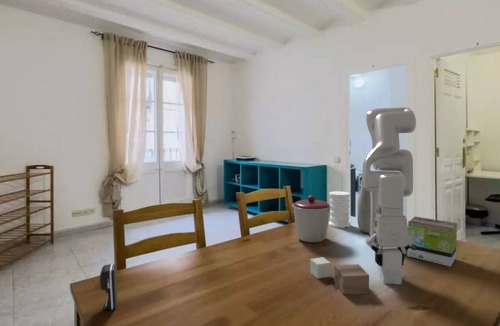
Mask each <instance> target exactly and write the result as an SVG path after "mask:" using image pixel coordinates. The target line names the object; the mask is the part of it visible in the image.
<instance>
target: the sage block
mask: <svg viewBox="0 0 500 326" xmlns="http://www.w3.org/2000/svg"><path fill="white" fill-rule="evenodd" d="M309 261H310V262H309V265H310V266H309V267H310V272H309V273H310V274H311V275H313V276H314V277H315V278H316V279H317V278H318V279H323V277H324V278H329V277H331V262H330V261H329V260H327V259H326V258H325V257H316V258H315V257H314V258H310V259H309Z"/></svg>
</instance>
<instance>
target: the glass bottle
mask: <svg viewBox="0 0 500 326" xmlns="http://www.w3.org/2000/svg"><path fill="white" fill-rule="evenodd" d="M357 225H358V227H359V229H360V231H361V232H363V233H366V234H369V233H370V192H369V191H366V190H365V189H364V187H363V182H362V181H361V183H360V189H359V193H358V197H357Z"/></svg>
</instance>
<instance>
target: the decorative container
mask: <svg viewBox="0 0 500 326" xmlns="http://www.w3.org/2000/svg"><path fill="white" fill-rule="evenodd" d="M328 194H329V196H330V199H329V201H330V203H329V204H330V205H331V208H330V211H329V219H330V221H329V220H328V226H329V225H330V226H329V227H331V226H333V227H332V228H335V227H341V228H340V229H346V228H345V227H348V228H351V226H352V225H351V222H349V220H350V216H349V214H350V210H349V209H350V204H349V203H350V196H351V193H350V192H347V191H341V190H339V191H330V192H329V193H328ZM350 225H351V226H350Z"/></svg>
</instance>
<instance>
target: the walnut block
mask: <svg viewBox="0 0 500 326" xmlns="http://www.w3.org/2000/svg"><path fill="white" fill-rule="evenodd" d="M333 271H334V275H333V276H334V279H333V281H334V284H335V286H336V287H337V288H338V290H339V289H340V290H339V291H340V293H341V292H342V293H341V294H342V295H343V294H353V295H369V294H370V274H369V273H367V271H366V270H365V269H364V268H363V267H362V266H361V265H360V264H355V263H354V264H335V265H334V270H333Z"/></svg>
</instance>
